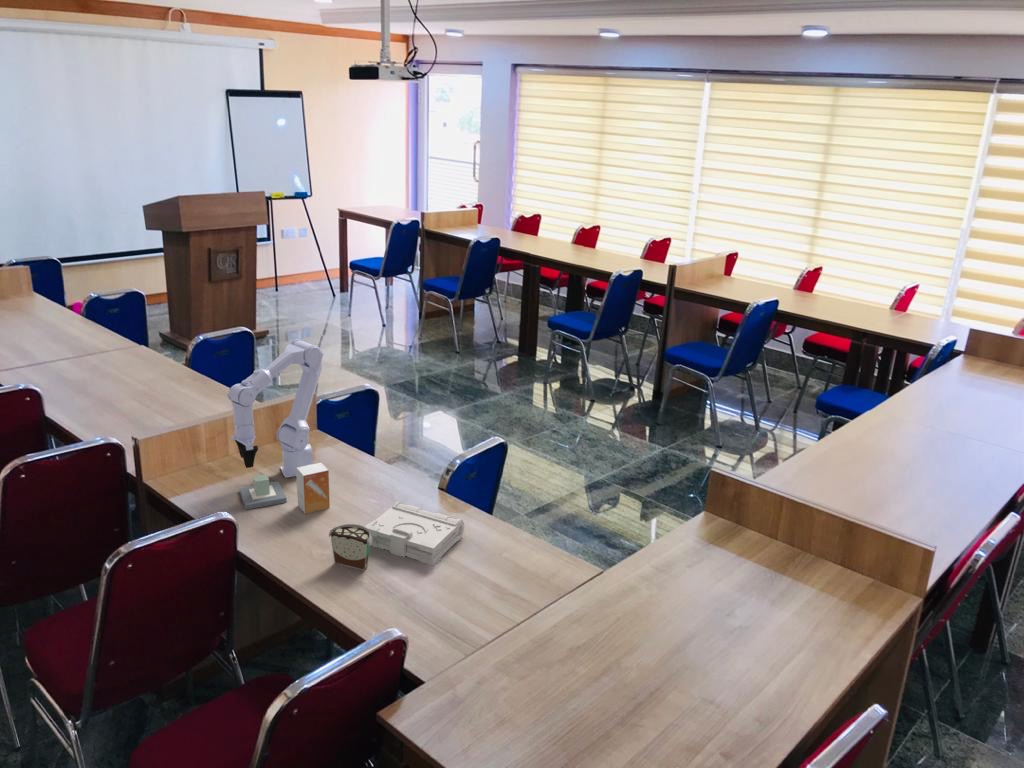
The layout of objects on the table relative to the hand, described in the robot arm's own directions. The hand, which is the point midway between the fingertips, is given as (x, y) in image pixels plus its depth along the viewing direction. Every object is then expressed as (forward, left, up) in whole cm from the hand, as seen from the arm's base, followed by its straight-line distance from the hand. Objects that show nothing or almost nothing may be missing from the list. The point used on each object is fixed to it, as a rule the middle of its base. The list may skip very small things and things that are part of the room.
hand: (247, 462), depth 263 cm
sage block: (-3, +7, -8) cm, 11 cm away
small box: (-16, +19, -10) cm, 27 cm away
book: (-36, +47, -10) cm, 60 cm away
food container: (-19, +53, -10) cm, 57 cm away
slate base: (-3, +7, -9) cm, 12 cm away
